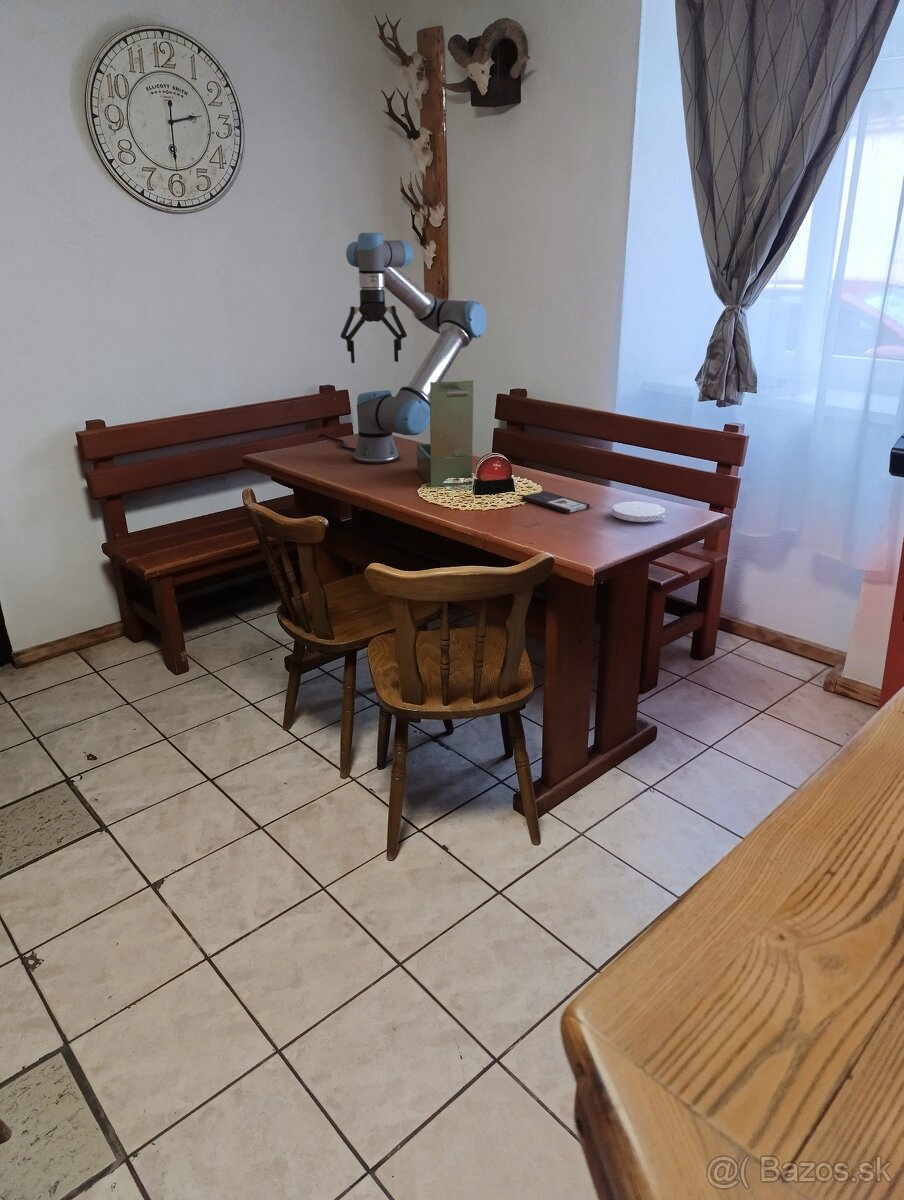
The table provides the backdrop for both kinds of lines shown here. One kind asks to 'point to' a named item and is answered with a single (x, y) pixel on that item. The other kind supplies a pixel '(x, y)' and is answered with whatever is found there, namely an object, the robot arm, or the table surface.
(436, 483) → the green open box
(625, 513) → the plastic lid
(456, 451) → the bin lid
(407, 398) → the robot arm
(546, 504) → the chocolate bar
